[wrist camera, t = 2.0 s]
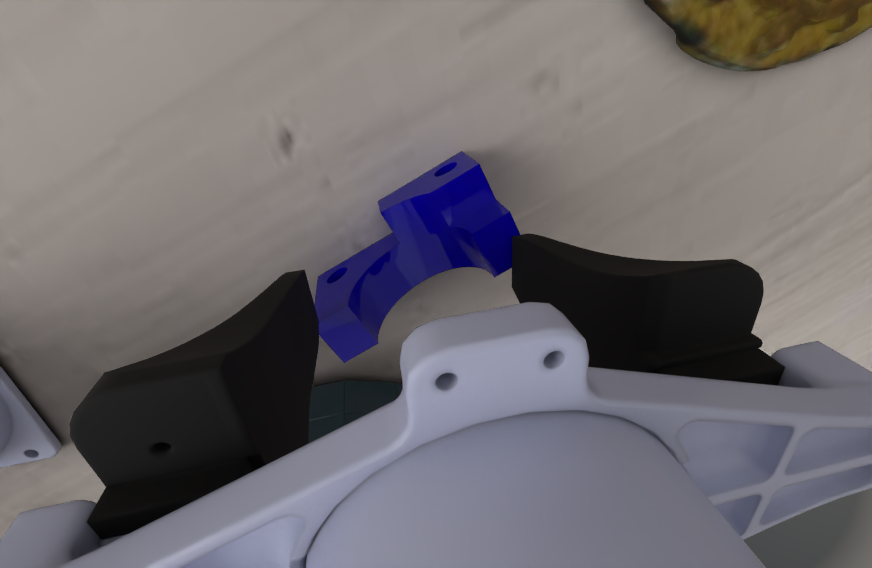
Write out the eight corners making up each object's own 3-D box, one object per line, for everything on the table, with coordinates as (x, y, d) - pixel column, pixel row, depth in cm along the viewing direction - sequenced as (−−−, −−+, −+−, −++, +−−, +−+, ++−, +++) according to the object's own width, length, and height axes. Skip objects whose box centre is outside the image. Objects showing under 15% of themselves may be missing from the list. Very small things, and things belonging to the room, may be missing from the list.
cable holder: (461, 151, 17) (492, 173, 13) (495, 221, 18) (530, 256, 15) (296, 249, 17) (284, 296, 14) (344, 308, 19) (344, 362, 15)
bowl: (251, 586, 27) (233, 684, 23) (146, 412, 19) (89, 510, 15) (484, 526, 29) (508, 606, 25) (474, 347, 22) (507, 418, 17)
